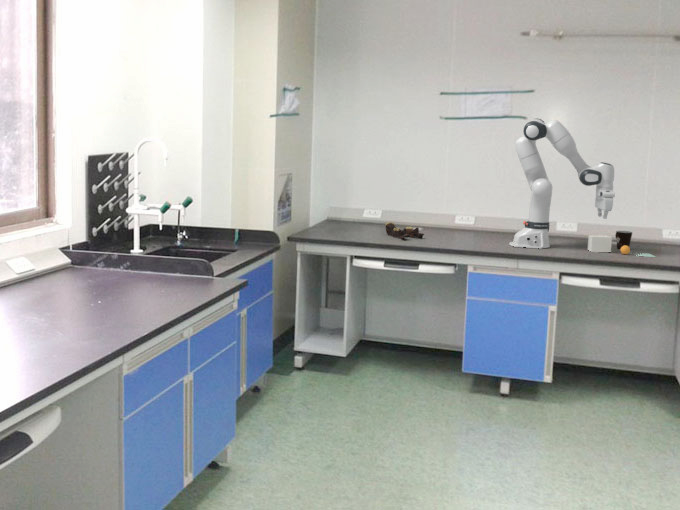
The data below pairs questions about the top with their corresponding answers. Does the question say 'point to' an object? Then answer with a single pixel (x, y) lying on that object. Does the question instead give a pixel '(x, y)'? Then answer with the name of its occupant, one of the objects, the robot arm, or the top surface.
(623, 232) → the coffee mug
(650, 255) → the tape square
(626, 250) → the ball
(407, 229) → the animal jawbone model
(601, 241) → the white rectangular block
